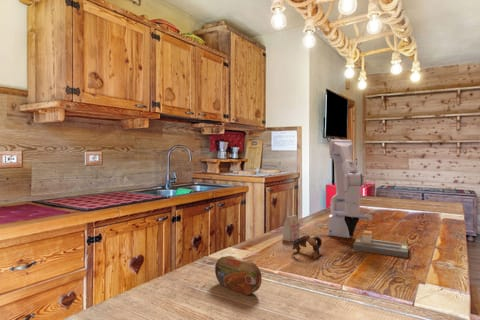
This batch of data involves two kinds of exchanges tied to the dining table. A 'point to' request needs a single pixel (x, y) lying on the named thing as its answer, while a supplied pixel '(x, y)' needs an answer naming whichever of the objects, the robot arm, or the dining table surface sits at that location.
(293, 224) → the grey upright block
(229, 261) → the tin
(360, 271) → the dining table surface
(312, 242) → the brown animal figurine
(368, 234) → the block
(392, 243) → the panel
